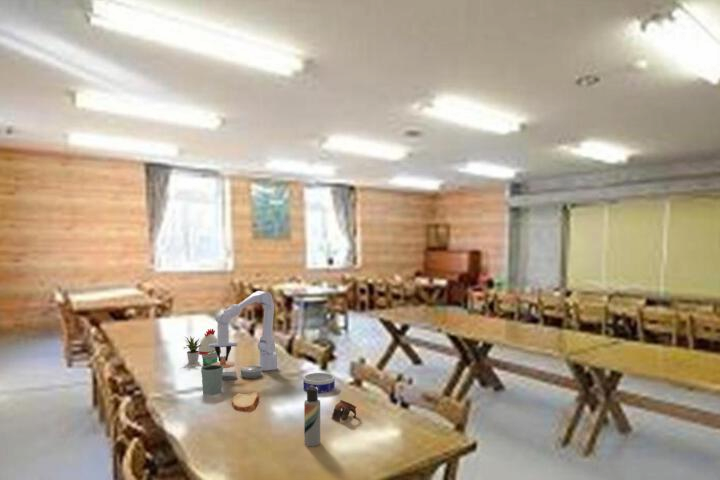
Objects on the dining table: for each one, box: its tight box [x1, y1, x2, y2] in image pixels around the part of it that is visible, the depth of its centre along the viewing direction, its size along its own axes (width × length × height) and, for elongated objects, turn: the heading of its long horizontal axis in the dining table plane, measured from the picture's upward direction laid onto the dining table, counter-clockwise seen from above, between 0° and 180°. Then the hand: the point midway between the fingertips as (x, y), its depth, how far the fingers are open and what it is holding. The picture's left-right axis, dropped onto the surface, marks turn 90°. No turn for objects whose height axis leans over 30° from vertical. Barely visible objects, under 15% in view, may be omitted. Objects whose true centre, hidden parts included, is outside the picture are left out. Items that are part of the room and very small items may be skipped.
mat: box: [222, 370, 238, 381], centre depth 262 cm, size 16×14×1 cm
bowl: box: [240, 365, 263, 379], centre depth 263 cm, size 11×11×4 cm
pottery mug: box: [331, 399, 357, 423], centre depth 200 cm, size 12×10×8 cm
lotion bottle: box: [303, 387, 321, 447], centre depth 176 cm, size 6×6×20 cm
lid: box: [211, 355, 236, 369], centre depth 261 cm, size 12×12×5 cm
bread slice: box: [231, 391, 260, 413], centre depth 220 cm, size 18×18×4 cm
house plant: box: [183, 335, 203, 364], centre depth 293 cm, size 14×14×16 cm
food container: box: [201, 350, 219, 367], centre depth 276 cm, size 12×6×10 cm, turn 168°
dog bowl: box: [302, 372, 336, 394], centre depth 241 cm, size 15×15×6 cm
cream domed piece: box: [197, 328, 222, 355], centre depth 320 cm, size 14×14×15 cm
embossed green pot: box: [200, 365, 224, 396], centre depth 235 cm, size 10×10×12 cm
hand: (223, 360), depth 261 cm, fingers closed on lid, 3 cm apart
